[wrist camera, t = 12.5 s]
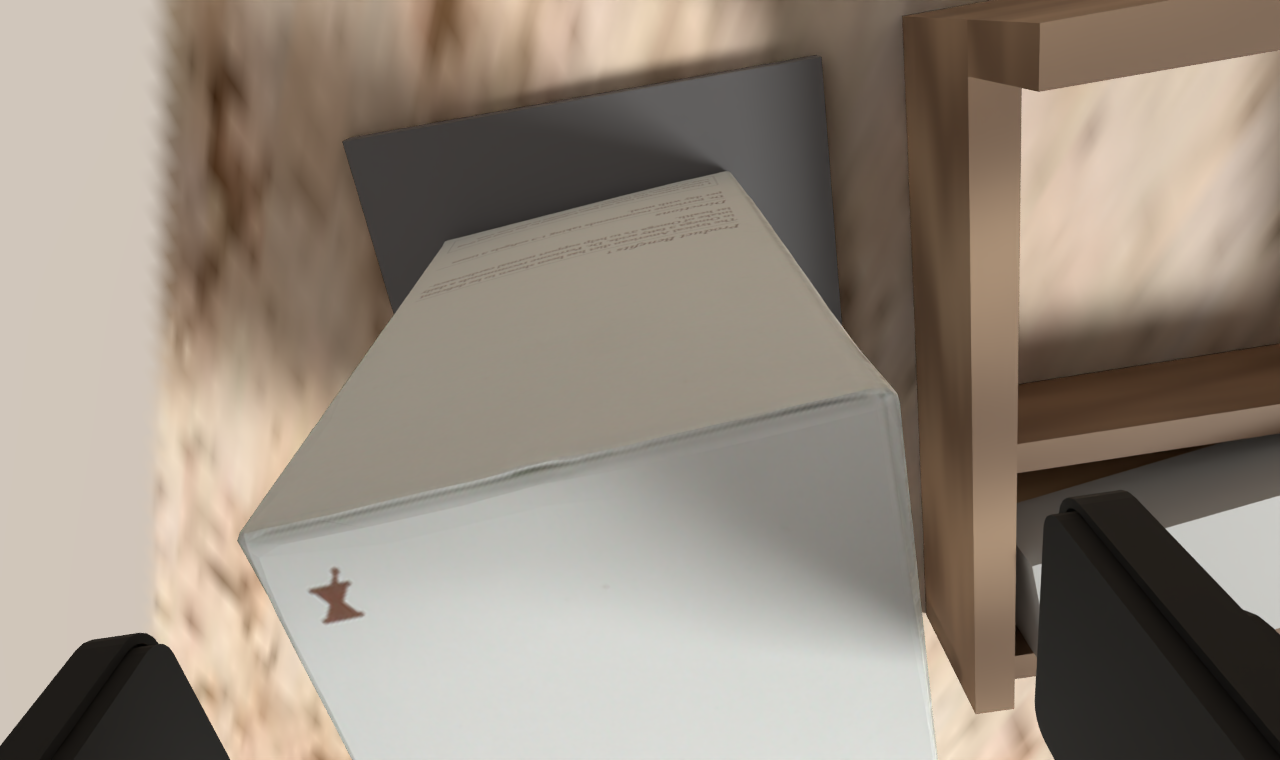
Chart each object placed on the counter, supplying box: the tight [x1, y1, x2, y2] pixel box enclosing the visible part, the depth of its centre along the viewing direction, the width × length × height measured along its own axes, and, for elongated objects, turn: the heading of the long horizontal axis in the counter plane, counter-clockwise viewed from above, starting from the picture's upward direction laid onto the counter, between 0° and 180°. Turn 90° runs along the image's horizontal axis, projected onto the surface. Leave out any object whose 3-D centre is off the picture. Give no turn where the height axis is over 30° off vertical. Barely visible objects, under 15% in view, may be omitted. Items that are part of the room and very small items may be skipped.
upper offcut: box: [1015, 433, 1280, 657], centre depth 22 cm, size 4×10×2 cm, turn 109°
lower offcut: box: [1015, 442, 1222, 625], centre depth 24 cm, size 4×10×2 cm, turn 100°
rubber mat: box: [342, 55, 842, 325], centre depth 22 cm, size 11×11×1 cm
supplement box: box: [237, 171, 938, 760], centre depth 16 cm, size 7×7×13 cm
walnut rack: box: [902, 0, 1280, 714], centre depth 19 cm, size 17×13×7 cm
